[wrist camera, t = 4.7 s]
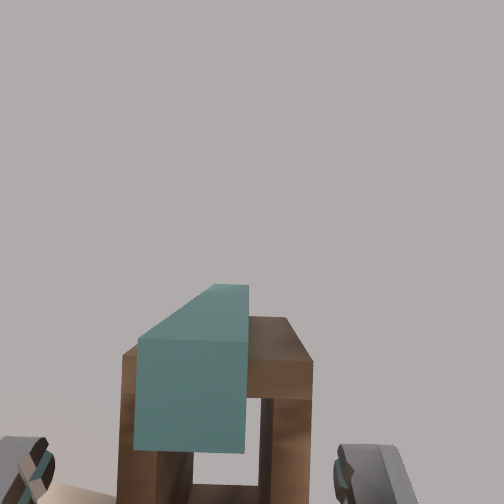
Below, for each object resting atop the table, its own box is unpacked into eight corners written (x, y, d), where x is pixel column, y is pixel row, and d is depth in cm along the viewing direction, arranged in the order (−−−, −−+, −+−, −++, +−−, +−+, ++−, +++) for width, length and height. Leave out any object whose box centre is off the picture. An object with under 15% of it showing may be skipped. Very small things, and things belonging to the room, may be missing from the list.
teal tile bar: (247, 319, 31) (248, 285, 31) (244, 453, 10) (248, 342, 10) (213, 318, 31) (214, 284, 31) (133, 450, 10) (137, 338, 10)
